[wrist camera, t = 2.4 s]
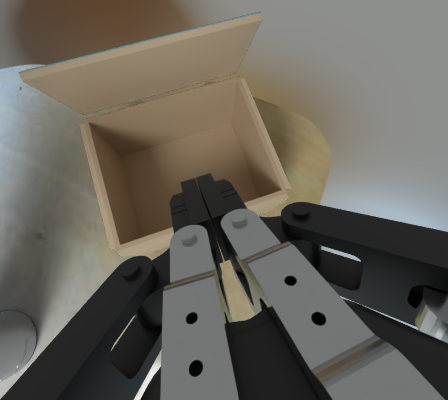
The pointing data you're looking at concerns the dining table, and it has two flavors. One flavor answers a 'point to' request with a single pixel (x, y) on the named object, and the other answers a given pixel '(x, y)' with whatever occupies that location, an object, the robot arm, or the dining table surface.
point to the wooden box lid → (147, 66)
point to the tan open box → (178, 159)
